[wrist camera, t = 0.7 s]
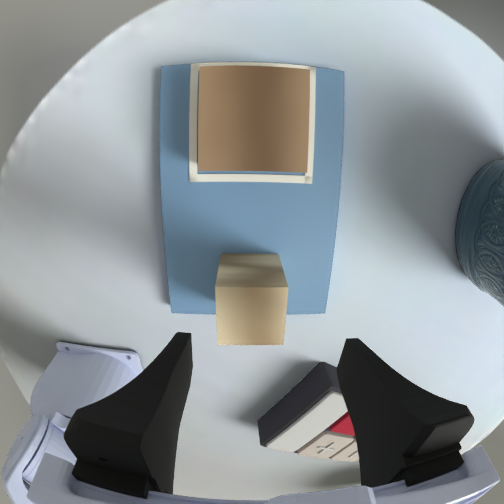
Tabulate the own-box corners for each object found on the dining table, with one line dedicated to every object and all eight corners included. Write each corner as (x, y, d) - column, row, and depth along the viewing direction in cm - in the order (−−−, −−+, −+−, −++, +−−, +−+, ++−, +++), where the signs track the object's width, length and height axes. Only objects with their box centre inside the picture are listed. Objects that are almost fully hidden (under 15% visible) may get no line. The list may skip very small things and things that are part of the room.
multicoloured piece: (354, 465, 30) (259, 451, 26) (346, 441, 34) (255, 420, 30) (419, 416, 26) (332, 392, 22) (406, 391, 30) (320, 359, 26)
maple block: (222, 303, 22) (217, 344, 18) (220, 253, 21) (215, 287, 16) (275, 303, 22) (283, 344, 18) (278, 254, 21) (288, 287, 16)
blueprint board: (174, 306, 24) (171, 313, 22) (165, 69, 17) (160, 66, 16) (322, 306, 24) (325, 314, 23) (339, 73, 17) (344, 70, 16)
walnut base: (204, 166, 19) (198, 171, 16) (206, 77, 17) (199, 66, 14) (297, 167, 19) (307, 173, 16) (300, 79, 17) (310, 69, 14)
